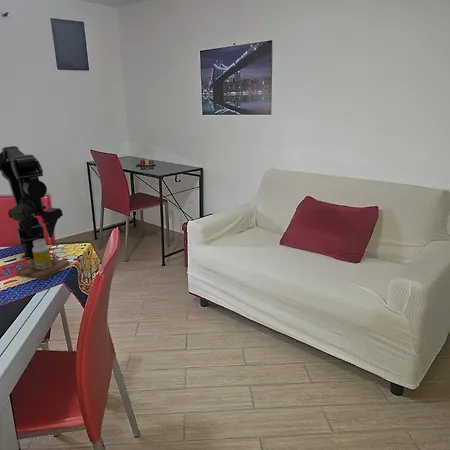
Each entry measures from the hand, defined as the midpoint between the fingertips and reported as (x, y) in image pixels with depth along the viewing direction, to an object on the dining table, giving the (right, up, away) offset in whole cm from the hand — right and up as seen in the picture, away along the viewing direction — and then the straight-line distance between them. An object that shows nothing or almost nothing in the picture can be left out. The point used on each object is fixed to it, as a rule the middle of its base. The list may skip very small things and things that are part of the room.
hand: (40, 236), depth 141 cm
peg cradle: (+1, -12, +2) cm, 12 cm away
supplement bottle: (0, -11, +2) cm, 11 cm away
